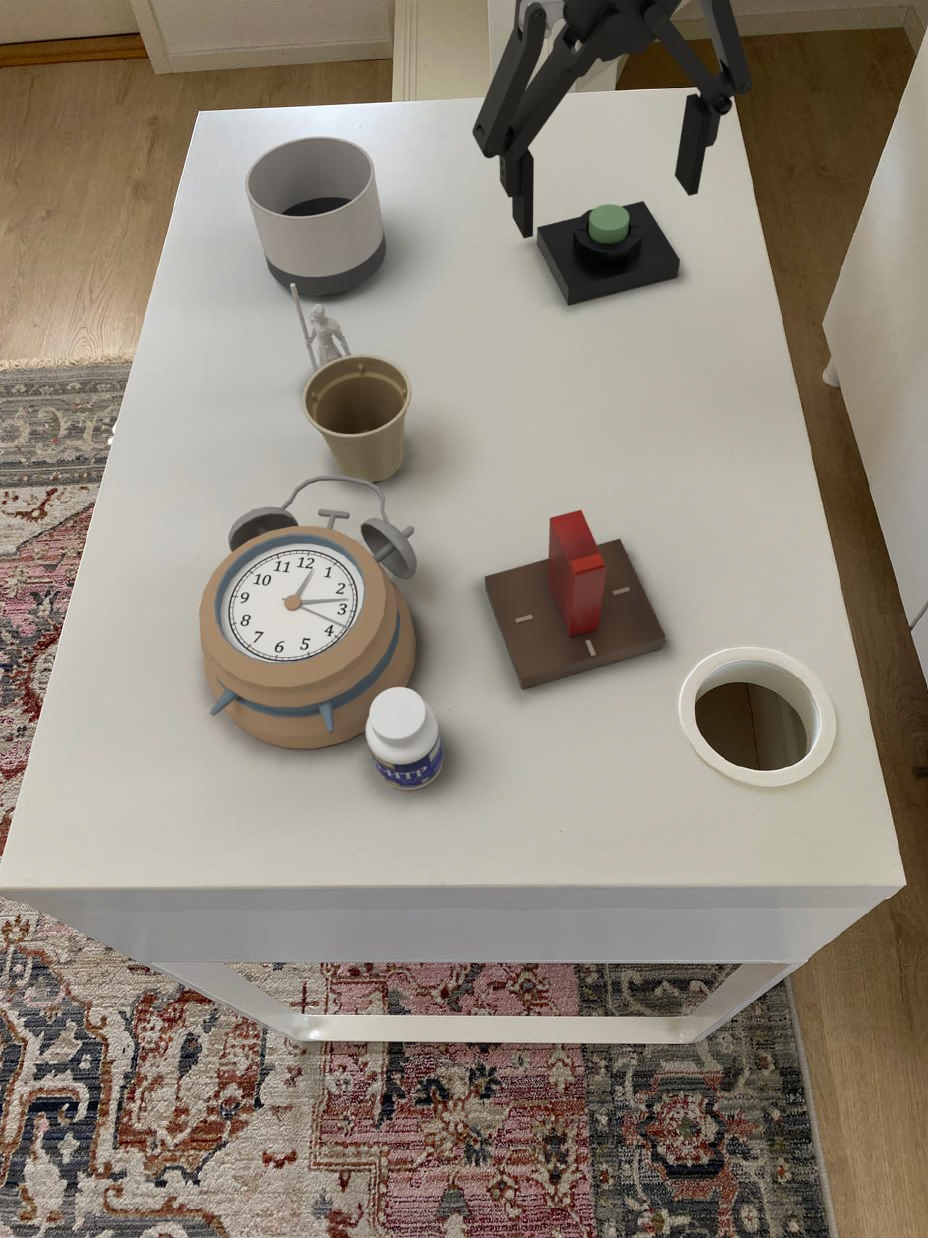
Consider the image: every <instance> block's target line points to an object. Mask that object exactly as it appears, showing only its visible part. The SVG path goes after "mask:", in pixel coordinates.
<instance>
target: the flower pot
mask: <svg viewBox="0 0 928 1238" xmlns="http://www.w3.org/2000/svg"><path fill="white" fill-rule="evenodd" d="M411 400H412V385H411V382H410V379H409V377H408V375H407V374H406V372H405V371H404V370H403V368H401V366H399V365H398V364H396V363H395V362H394V361H392V360H390V359H387V358H385V357H382V356H378V355H374V354H366V353H365V354H364V353H362V354H361V353H360V354H352V355H350V356H345V355H344V356H343V357H341V358H338V359H336V360H333V361H331V362H329V363H327V364H325V365H324V366H322V367H321V366H320V367H319V368H318V370H317V371H316V372H315V373H314V372H313V374H312V375H311V376H310V378H309V379H308V380H307V382H306V383H305V386H304V388H303V390H302V395H301V407H302V410H303V414H304V416H305V417H306V419H307V421H308V422H309V423H310V424H311V426H313V427H314V428H315V429H316V430H317V431H318V432H319V433H320V434H321V435H322V436H323V438H324V441H325V442H326V445H327V447H328V449H329V450H330V452H331V454H332V457H333V458H334V460H335V462H336V464H337V467H338V469H339V470H340V471H341V473H342V474H343V476H347V477H352V478H358V479H362V480H365V481H369V482H371V483H373V482H378V481H379V482H380V481H385V480H387V479H389V478H391V477H392V476H393V475H394V474H396V472H397V471H398V470H399V469H400V467H401V466H402V464H403V462H404V457H405V449H404V448H405V445H404V442H405V440H404V439H405V416H406V414H407V411H408V409H409V406H410V404H411Z"/></svg>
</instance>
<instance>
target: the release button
mask: <svg viewBox="0 0 928 1238" xmlns="http://www.w3.org/2000/svg"><path fill="white" fill-rule="evenodd" d="M593 209H594V210H593V211H592V212H591V214H590V217H589V235H590V237H591V238H592V239H593V240H595V241H597V242H599V243H608V244H612V243H616V242H620V241H622V240H623V239H625V237H626V236H627V234H628V227H629V214H628V212H627V211H626V210H625V209H624V208H623V207H621V205H617V204H611V203H606V204H602V205H601V204H600V205H599V206H597V207H595V208H593Z"/></svg>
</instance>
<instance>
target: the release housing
mask: <svg viewBox="0 0 928 1238" xmlns="http://www.w3.org/2000/svg"><path fill="white" fill-rule="evenodd" d="M620 206H621V205H620ZM621 207H623V208H624V209H625V210H626V211H627V212H628V214H629V227H628V234H627V236H626V237H625V239H623V240H622V241H620V242H616V243H612V244H608V243H599V242H597V241H595V240H593V239H592V238H591V237H590V235H589V217H590V214H591V212H592V211H593V210H594V209H595V208H592V209H587V211H586V212H583V214H581V215H580V216H577V217H573V218H569V219H564V220H561V221H556V222H553V223H549V224H544V225H541V226H536V245H537V247H538V249H539V252H540V254H541V256H542V258H543V259H544V261H545V263H546V266H547V267H548V269H549V272H550V273H551V275H552V277H553V280H554V281H555V283H556V285H557V287H558V289H559V291H560V293H561V295H562V297H563V298H564V301H565V302H566V305H567V306H571V305H574V304H578V303H584V302H587V301H590V300H594V299H598V298H602V297H607V296H610V295H614V294H618V293H622V292H625V291H629V290H633V289H637V288H641V287H645V286H648V285H653V284H656V283H661V282H666V281H669V280H673V279H676V278H678V275H679V271H680V264H681V259H680V258H679V256H678V253H676V251H675V249H674V247H673V246H672V244H671V243H670V242H669V240H668V238H667V236H666V235H665V233H664V231H663V230H662V229H661V227H660V225H659V224H658V222H657V220H656V219H655V218H654V217H655V216H653V213H652V212H651V211H650V209H649V208H648V206H647V204H646V203H645V201H644V200H642V201H638V202H634V203H630V204H626V205H622V206H621Z"/></svg>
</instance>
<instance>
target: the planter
mask: <svg viewBox="0 0 928 1238" xmlns="http://www.w3.org/2000/svg"><path fill="white" fill-rule="evenodd" d="M376 177H377V176H376V171H375V166H374V162H373V160H372V158H371V156H370V155H369V153H368V152H367V151H366V150H365V149H363V148H362V147H361V146H359V145H358V144H356V143H354V142H353V141H349V140H346V139H343V138H339V137H334V136H322V135H321V136H320V135H319V136H306V137H301V138H296V139H292V140H289V141H286V142H283V143H281V144H278V145H276V146H275V147H273V148H270V149H269V150H267V151H266V152H264V153H263V154H262V155H261V156H259V157H258V158H257V159H256V160H255V161H254V163H253V164H252V165H251V166H250V168H249V170H248V172H247V174H246V177H245V183H244V184H245V185H244V187H245V192H246V193H245V194H246V196H247V200H248V202H249V206H250V209H251V213H252V217H253V219H254V224H255V226H256V231H257V234H258V237H259V241H260V244H261V248H262V251H263V254H264V257H265V260H266V264H267V268H268V270H269V272H270V275H271V276H272V277H273V278H274V280H275V281H277V282H278V283H279V284H280V285H282V286H283V287H285V288H286V289H289V290H291V288H290V284H292V283H294V284H295V286H296V289H297V292H298V293H301V294H305V295H315V296H316V295H318V296H319V295H320V296H321V295H323V296H324V295H331V294H332V295H333V294H338V293H341V292H344V291H348V290H350V289H353V288H355V287H357V286H359V285H361V284H363V283H364V282H366V281H367V280H369V279H370V278H371V277H372V276H373V275H374V274H376V272H377V271H378V270H379V269H380V267H382V264H383V262H384V261H385V259H386V258H385V257H386V255H387V254H386V253H387V241H386V235H385V229H384V222H383V216H382V211H381V204H380V196H379V190H378V184H377V178H376Z"/></svg>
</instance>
